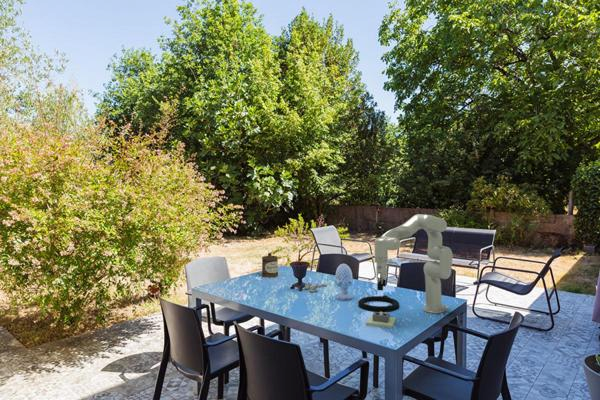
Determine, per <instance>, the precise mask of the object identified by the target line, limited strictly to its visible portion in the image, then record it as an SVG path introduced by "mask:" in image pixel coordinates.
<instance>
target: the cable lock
mask: <svg viewBox="0 0 600 400" xmlns="http://www.w3.org/2000/svg"><path fill="white" fill-rule="evenodd" d="M369 302H384V303H389V304H391V305H383V306H382V305H371V304H367V303H369ZM357 304H358V306H359V308H361V309H363V310H366V311H369V312H382V313H388V312H393V311H395V310H397V309H399V307H400V302H399V301H398V300H396V298H392V297H390V296H388V295H387V294H384V295H376V296H375V295H371V296H366V297H362V298H360V299H359V300H358V303H357Z"/></svg>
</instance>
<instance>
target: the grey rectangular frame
mask: <svg viewBox="0 0 600 400" xmlns="http://www.w3.org/2000/svg"><path fill="white" fill-rule="evenodd" d="M382 313H383V315H380V312H376V311H373V313H372V315H373V321H378V322H387V323H388V322H389V320H390V317H391V316H390V314H391V313H388V312H382Z"/></svg>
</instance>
